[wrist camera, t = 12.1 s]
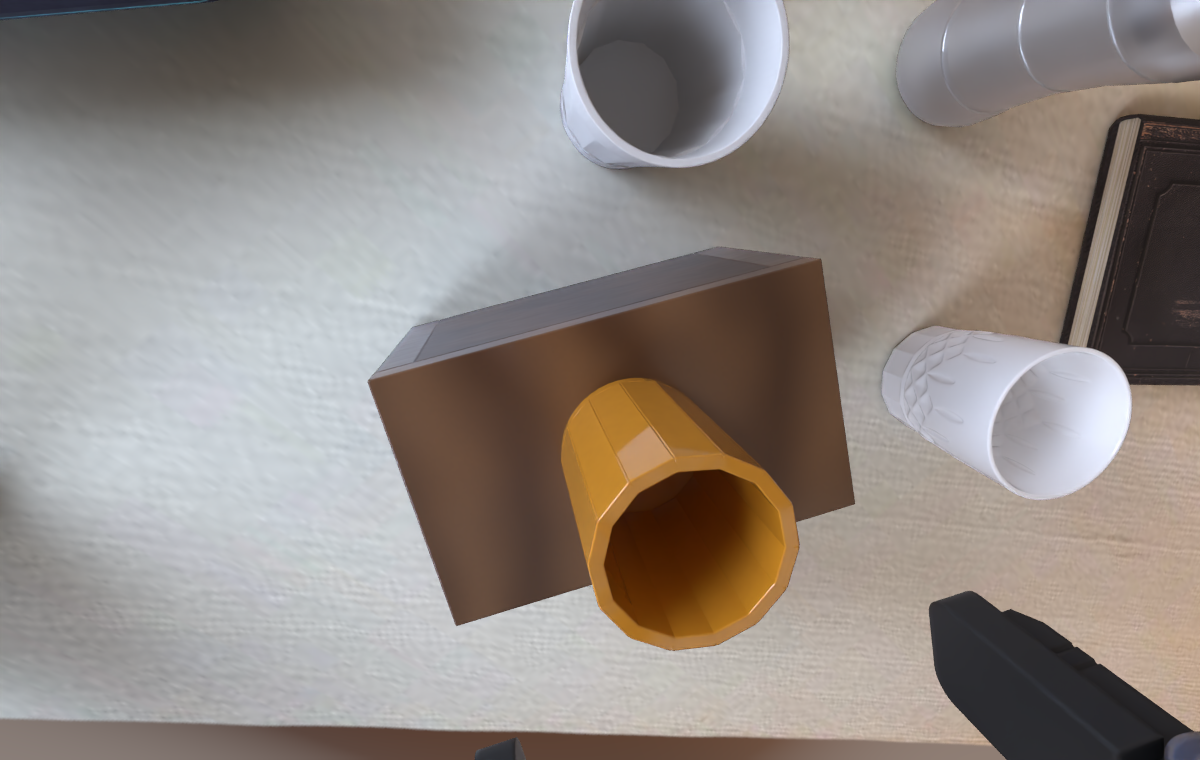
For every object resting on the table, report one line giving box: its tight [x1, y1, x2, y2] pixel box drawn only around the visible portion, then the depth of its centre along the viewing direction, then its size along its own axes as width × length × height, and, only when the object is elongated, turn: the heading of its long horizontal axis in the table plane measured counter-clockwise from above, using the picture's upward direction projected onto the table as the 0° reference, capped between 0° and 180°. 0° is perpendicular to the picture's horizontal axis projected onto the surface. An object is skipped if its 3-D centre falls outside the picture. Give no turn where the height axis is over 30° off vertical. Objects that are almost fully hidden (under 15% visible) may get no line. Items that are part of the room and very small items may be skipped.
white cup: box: [881, 326, 1132, 500], centre depth 35 cm, size 8×8×10 cm
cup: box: [560, 0, 789, 169], centre depth 28 cm, size 8×8×12 cm
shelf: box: [368, 247, 855, 626], centre depth 31 cm, size 18×11×12 cm, turn 104°
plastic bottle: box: [896, 0, 1200, 127], centre depth 26 cm, size 6×7×20 cm
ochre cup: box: [561, 378, 800, 651], centre depth 21 cm, size 6×6×8 cm
